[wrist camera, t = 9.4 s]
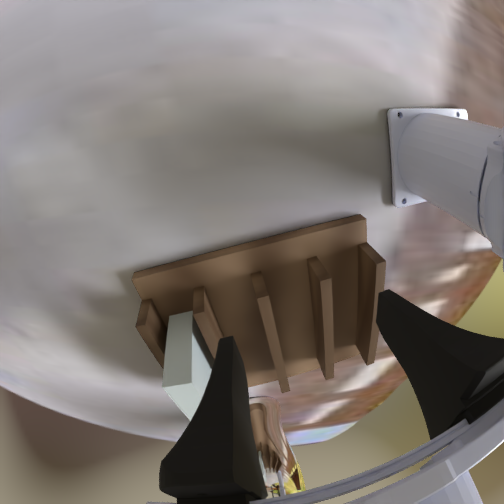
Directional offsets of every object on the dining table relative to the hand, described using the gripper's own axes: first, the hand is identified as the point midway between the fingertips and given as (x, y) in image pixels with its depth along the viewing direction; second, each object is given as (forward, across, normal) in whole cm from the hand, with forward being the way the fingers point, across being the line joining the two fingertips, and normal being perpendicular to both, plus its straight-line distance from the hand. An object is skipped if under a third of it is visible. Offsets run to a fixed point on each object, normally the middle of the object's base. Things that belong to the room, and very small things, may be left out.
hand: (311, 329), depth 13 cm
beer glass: (+10, +6, +22) cm, 25 cm away
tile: (+8, +8, +8) cm, 14 cm away
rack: (+9, +2, +8) cm, 12 cm away
